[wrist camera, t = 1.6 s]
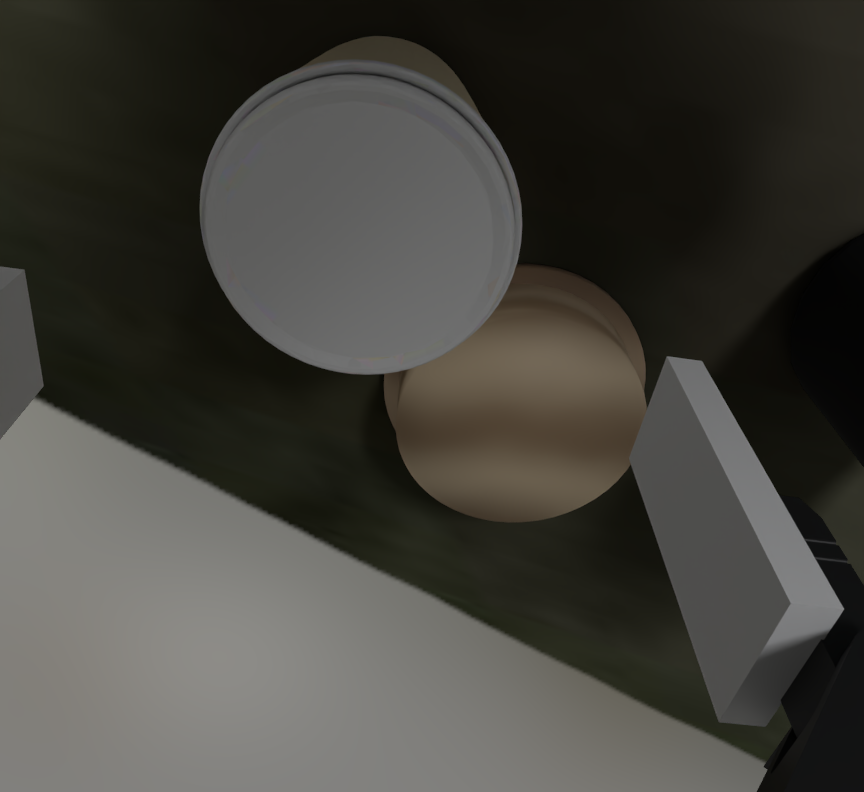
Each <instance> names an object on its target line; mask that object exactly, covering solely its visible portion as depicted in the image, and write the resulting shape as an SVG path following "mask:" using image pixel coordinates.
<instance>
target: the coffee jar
mask: <svg viewBox="0 0 864 792" xmlns="http://www.w3.org/2000/svg"><path fill="white" fill-rule="evenodd" d="M790 335H791V364H792V366H793V368H794V371H795V373H796V375H797V377H798V379H799V381H800V383H801V385H802V387H803V389H804V390H805V392H806V393H807V394H808V395H809V397H810V398H811V399H812V401H813V402H814V403H815V405H816V406H817V407H818V408H819V410H820V411H821V412H822V414H823V415H824V416H825V418H826V419H827V420H828V421H829V423H830V424H831V425H832V427H833V428H834V429H835V430H836V432H837V433H838V434H839V436H840V437H841V438H842V440H843V441H844V442H845V443H846V445H847V446H848V447H849V449H850V450H851V451H852V453H853V454H854V455H855V456H856V458H857V459H858V460H859V462H860V463H861V464H862V466H863V467H864V234H863V235H861V236H859V237H857V238H855V239H853V240H851V241H850V242H849V243H847V244H846V245H845V246H844V247H843V248H842V249H841V250H839V251H838V252H837V253H836V254H835V255H834V256H833V257H831V258H830V259H829V260H828V261H827V262H826V263H825V264H823V265H822V267H821V268H820V270H819V271H818V273H817V274H816V275H815V277H814V278H813V280H812V281H811V283H810V284H809V285H808V287H807V288H806V290H805V291H804V293H803V295H802V297H801V299H800V302H799V305H798V308H797V311H796V314H795V317H794V320H793V323H792V326H791V331H790Z"/></svg>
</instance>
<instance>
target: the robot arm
mask: <svg viewBox="0 0 864 792" xmlns="http://www.w3.org/2000/svg"><path fill="white" fill-rule="evenodd" d="M43 386H44V385H43V379H42V373H41V367H40V361H39V355H38V349H37V343H36V337H35V331H34V325H33V319H32V313H31V307H30V301H29V295H28V289H27V282H26V276H25V270H22V269H15V268H7V267H0V439H1V438H2V436H3V435H4V434H5V433H6V432H7V430H8V429H9V428H10V427H11V425H12V424H13V423H14V422H15V421H16V419H17V418H18V417H19V416H20V414H21V413H22V412H23V411H24V410H25V408H26V407H27V406H28V405H29V403H30V402H31V401H32V400H33V399H34V397H35V396H36V395H37V394H38V392H39V391H40V390H41V389H42V388H43ZM629 460H630V463H631V466H632V469H633V472H634V475H635V478H636V481H637V484H638V487H639V490H640V493H641V495H642V498H643V501H644V504H645V507H646V510H647V513H648V516H649V519H650V522H651V525H652V528H653V531H654V534H655V536H656V539H657V542H658V545H659V548H660V551H661V554H662V557H663V560H664V563H665V566H666V569H667V572H668V575H669V577H670V580H671V583H672V586H673V589H674V592H675V595H676V598H677V601H678V604H679V607H680V610H681V613H682V616H683V619H684V621H685V624H686V627H687V630H688V633H689V636H690V639H691V642H692V645H693V648H694V651H695V654H696V657H697V660H698V662H699V665H700V668H701V671H702V674H703V677H704V680H705V683H706V686H707V689H708V692H709V695H710V698H711V701H712V703H713V706H714V709H715V712H716V715H717V718H718V721H719V722H723V723H733V724H743V725H754V726H764V727H766V725H767V724H768V723H769V721H770V720H771V718H772V717H773V715H774V714H775V712H776V711H777V709H778V708H779V706H780V705H781V703H782V705H783V707H784V710H785V712H786V714H787V717H788V719H789V721H790V724H791V726H792V727H791V728H790V730H789V731H788V733H787V734H786V735H785V737H784V738H783V740H782V741H781V743H780V744H779V745H778V747H777V748H776V750H775V751H774V753H773V754H772V755H771V757H770V758H769V760H768V761H767V762H766V764H765V765H764V767H765V768H766V769H768V770H767V772H766V774H765V777H764V778H763V781H762V783H761V785H760V786H759V788H758V790H757V792H864V585H863V584H862V582H861V580H860V579H859V577H858V576H857V574H856V572H855V571H854V569H853V568H852V566H851V564H847V558H846V556H845V555H844V553H843V551H842V550H841V548H840V547H839V546H837V545H836V540H835V539H834V537H833V535H832V534H831V532H830V531H829V529H828V527H827V526H826V524H825V523H824V521H823V519H822V518H821V517H820V516H819V515H817V514H816V513H815V512H814V511H813V510H812V509H811V508H810V507H809V506H808V505H806V504H805V503H804V502H803V501H802V500H801V499H800V498H797V497H788V496H780V495H778V493H777V491H776V489H775V488H774V486H773V484H772V482H771V481H770V479H769V477H768V475H767V474H766V472H765V470H764V468H763V467H762V465H761V463H760V461H759V460H758V458H757V456H756V454H755V453H754V451H753V449H752V447H751V446H750V444H749V442H748V441H747V439H746V437H745V435H744V434H743V432H742V430H741V428H740V427H739V425H738V423H737V421H736V420H735V418H734V416H733V414H732V413H731V411H730V409H729V407H728V406H727V404H726V402H725V400H724V399H723V397H722V395H721V393H720V392H719V390H718V388H717V386H716V385H715V383H714V381H713V379H712V378H711V376H710V374H709V372H708V371H707V369H706V367H705V366H704V364H703V362H702V361H698V360H691V359H683V358H676V357H669V356H667V357H666V360H665V363H664V365H663V368H662V371H661V373H660V376H659V379H658V381H657V384H656V387H655V390H654V392H653V395H652V398H651V400H650V403H649V406H648V408H647V411H646V414H645V416H644V419H643V422H642V424H641V427H640V430H639V432H638V435H637V438H636V441H635V443H634V446H633V449H632V451H631V454H630V457H629Z"/></svg>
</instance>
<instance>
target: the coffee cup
mask: <svg viewBox="0 0 864 792" xmlns="http://www.w3.org/2000/svg"><path fill="white" fill-rule="evenodd" d="M200 226H201V232H202V238H203V243H204V247H205V250H206V254H207V257H208V260H209V263H210V265H211V268H212V270H213V273H214V275H215V277H216V279H217V281H218V283H219V284H220V286H221V288H222V290H223V291H224V293H225V295H226V296H227V298H228V299H229V301H230V303H231V304H232V306H233V307H234V309H235V310H236V311H237V312H238V313H239V315H240V316H241V317H242V318H243V319H244V320H245V321H246V322H247V324H248V325H249V326H250V327H251V328H252V329H253V330H254V331H255V332H257V333H258V334H259V335H260V336H261V337H263V338H264V339H265V340H266V341H268V342H269V343H271V344H272V345H273V346H275V347H276V348H278V349H279V350H281V351H283V352H285V353H286V354H288V355H290V356H292V357H294V358H296V359H298V360H301V361H303V362H305V363H308V364H310V365H313V366H316V367H319V368H323V369H327V370H331V371H335V372H342V373H348V374H363V375H371V374H386V373H393V372H399V371H403V370H407V369H411V368H414V367H417V366H420V365H423V364H426V363H428V362H430V361H432V360H435V359H437V358H439V357H440V356H442V355H444V354H446V353H448V352H450V351H451V350H453V349H454V348H455V347H457V346H458V345H459V344H461V343H462V342H463V341H465V340H466V339H468V338H469V337H470V336H471V335H472V334H473V333H474V332H476V331H477V330H478V329H479V328H480V327H481V326H482V325H483V324H484V322H485V321H486V320H487V319H488V318H489V317H490V316H491V314H492V313H493V312H494V310H495V309H496V308H497V306H498V305H499V303H500V301H501V300H502V298H503V296H504V294H505V293H506V291H507V289H508V286H509V284H510V282H511V280H512V277H513V274H514V271H515V268H516V265H517V262H518V257H519V251H520V246H521V236H522V207H521V201H520V194H519V189H518V185H517V182H516V178H515V174H514V172H513V169H512V167H511V164H510V162H509V159H508V157H507V155H506V153H505V151H504V149H503V148H502V146H501V144H500V142H499V140H498V139H497V138H496V136H495V135H494V133H493V132H492V130H491V129H490V127H489V126H488V125H487V124H486V122H485V121H484V120H483V118H482V117H481V115H480V113H479V111H478V109H477V107H476V106H475V104H474V102H473V100H472V99H471V97H470V95H469V93H468V92H467V90H466V88H465V87H464V85H463V84H462V82H461V81H460V79H459V78H458V77H457V75H456V74H455V73H454V71H453V70H452V69H451V68H450V67H449V66H448V65H447V64H446V63H445V62H444V61H443V60H441V59H440V58H439V57H438V56H437V55H435V54H434V53H432V52H431V51H429V50H428V49H426V48H424V47H422V46H420V45H418V44H416V43H413V42H410V41H407V40H404V39H400V38H394V37H388V36H370V37H363V38H359V39H355V40H351V41H349V42H346V43H343V44H341V45H338V46H336V47H334V48H332V49H331V50H329V51H327V52H325V53H324V54H322V55H320V56H319V57H317V58H315V59H313V60H312V61H310V62H309V63H307V64H306V65H304V66H303V67H301V68H299V69H297V70H295V71H293V72H290V73H288V74H286V75H283V76H281V77H279V78H277V79H276V80H274V81H272V82H271V83H269V84H267V85H266V86H264V87H263V88H261V89H260V90H259V91H257V92H256V93H255V94H254V95H252V96H251V97H250V98H249V99H248V100H247V101H246V102H245V103H244V104H243V105H242V106H241V107H240V108H239V109H238V110H236V112H235V113H234V114H233V116H232V117H231V118H230V119H229V121H228V122H227V123H226V125H225V126H224V128H223V130H222V131H221V133H220V135H219V136H218V138H217V140H216V142H215V144H214V146H213V149H212V151H211V153H210V155H209V158H208V161H207V164H206V168H205V171H204V175H203V180H202V185H201V191H200Z"/></svg>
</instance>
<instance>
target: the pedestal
mask: <svg viewBox="0 0 864 792" xmlns="http://www.w3.org/2000/svg"><path fill="white" fill-rule="evenodd" d="M645 380H646V367H645V359H644V353H643V348H642V346H641V343H640V340H639V337H638V334H637V332H636V330H635V328H634V326H633V325H632V323H631V321H630V319H629V317H628V316H627V314H626V313H625V312H624V310H623V309H622V308H621V306H620V305H619V304H618V303H617V302H616V301H615V300H614V299H613V298H612V297H611V296H610V295H609V294H608V293H607V292H606V291H604V290H603V289H601V288H600V287H599V286H597V285H596V284H594V283H593V282H591V281H589V280H587V279H585V278H583V277H581V276H579V275H577V274H574V273H572V272H569V271H566V270H563V269H560V268H555V267H551V266H546V265H539V264H528V263H519V264H517V265H516V268H515V271H514V274H513V277H512V280H511V282H510V284H509V286H508V289H507V291H506V293H505V294H504V296H503V298H502V300H501V301H500V303H499V305H498V306H497V308H496V309H495V310H494V312H493V313H492V314H491V316H490V317H489V318H488V319H487V320H486V321H485V322H484V324H483V325H482V326H481V327H480V328H479V329H478V330H477V331H476V332H474V333H473V334H472V335H471V336H470V337H469V338H468V339H466V340H465V341H463V342H462V343H461V344H459V345H458V346H457V347H455V348H454V349H453V350H451V351H450V352H448V353H446V354H444V355H442V356H440V357H439V358H437V359H435V360H432V361H430V362H428V363H426V364H423V365H420V366H417V367H414V368H411V369H407V370H403V371H399V372H393V373H386V374H384V397H385V403H386V407H387V412H388V415H389V418H390V420H391V422H392V425H393V427H394V429H395V431H396V436H397V442H398V447H399V451H400V454H401V456H402V459H403V461H404V463H405V465H406V467H407V469H408V470H409V472H410V474H411V475H412V477H413V478H414V479H415V480H416V481H417V483H418V484H419V485H420V486H421V487H422V488H423V489H424V490H425V491H426V492H427V493H428V494H429V495H431V496H432V497H434V498H435V499H436V500H438V501H439V502H441V503H442V504H444V505H446V506H448V507H450V508H451V509H453V510H456V511H458V512H461V513H463V514H466V515H469V516H472V517H476V518H479V519H484V520H490V521H497V522H529V521H538V520H543V519H547V518H552V517H556V516H559V515H562V514H565V513H568V512H570V511H573V510H575V509H577V508H580V507H582V506H584V505H585V504H587V503H589V502H591V501H592V500H594V499H596V498H597V497H599V496H600V495H601V494H603V493H604V492H606V491H607V490H608V489H609V488H610V487H611V486H612V485H614V484H615V483H616V482H617V481H618V480H619V479H620V477H621V476H622V475H623V474H624V473H625V472H626V470H627V469H628V468H629V466H630V465H631V463H630V460H629V457H630V454H631V451H632V449H633V446H634V443H635V441H636V438H637V435H638V432H639V430H640V427H641V424H642V422H643V419H644V416H645V414H646V411H647V406H646V400H645V394H644V387H645Z"/></svg>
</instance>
